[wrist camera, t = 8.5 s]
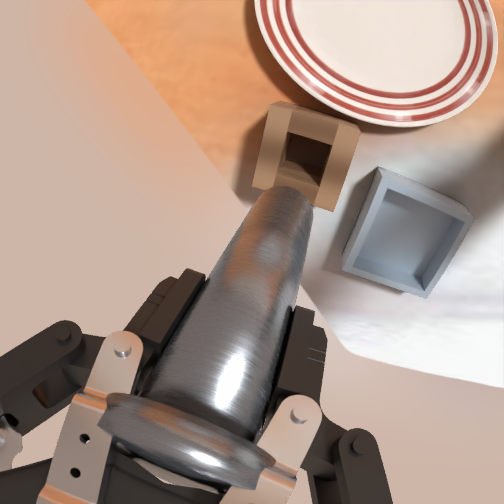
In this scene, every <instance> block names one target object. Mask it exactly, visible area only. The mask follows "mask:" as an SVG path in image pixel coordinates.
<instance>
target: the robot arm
mask: <svg viewBox="0 0 504 504" xmlns="http://www.w3.org/2000/svg"><path fill="white" fill-rule="evenodd" d="M205 278H206V277H205V274H202V273H199V272H197V271H194V270H191V269H188V268H187V269H186V270H185V271H184V272H183V273H182V275H181V276H180V277H179V279H176V278H174V277H171V276H170V277H168V278H167V279H165V280H163V281H162V282H160V283H159V284H158V285H157V287H156V288H155V289H154V290H153V292H152V294H150V295H149V297H148V298H147V300H146V301H145V302H144V303H143V305H142V306H141V307H140V309H139V310H138V311H137V313H136V314H135V316H134V317H133V318H132V319H131V321H130V322H129V323H128V325H127V326H126V328H125V329H124V330H123V331H117V332H114V333H112V334H110V335H109V336H107V337H99V336H93V335H88V334H82V331H81V329H80V327H79V326H78V325H77V324H76V323H74V322H72V321H67V320H64V321H59V322H56V323H55V324H53V325H51V326H50V327H48V328H46V329H45V330H43V331H41V332H40V333H38V334H36V335H35V336H33V337H31V338H30V339H28V340H27V341H25V342H23V343H22V344H20V345H18V346H17V347H15V348H14V349H12V350H11V351H9V352H7V353H6V354H4V355H3V356H1V357H0V504H285V503H286V502H287V500H288V498H289V496H290V494H291V493H292V491H293V489H294V486H295V484H296V480H297V479H296V474H297V472H298V469H299V468H302V469H304V470H306V471H307V475H308V481H309V486H310V492H311V497H312V503H313V504H393V501H392V498H391V493H390V490H389V485H388V481H387V478H386V474H385V470H384V466H383V463H382V459H381V455H380V452H379V448H378V445H377V442H376V440H375V438H374V436H373V435H372V434H371V433H370V432H368V431H366V430H364V429H360V428H354V429H350V430H349V431H347V430H345V429H343V428H342V427H340V426H338V425H336V424H335V423H333V422H332V421H330V420H329V419H328V418H327V417H326V416H325V415H324V413H323V412H322V410H321V407H320V401H319V400H320V392H321V386H322V379H323V372H324V362H325V357H326V354H325V353H326V349H327V337H326V335H325V332H324V329H323V328H321V327H317V326H314V325H313V321H314V314H315V311H313V310H310V309H306V308H303V307H300V306H297V305H296V306H295V308H294V311H293V314H292V318H291V322H290V326H289V330H288V335H287V339H286V343H285V347H284V351H283V355H282V358H281V362H280V366H279V370H278V374H277V378H276V381H275V385H274V389H273V392H272V396H271V401H270V405H269V409H268V412H267V416H266V421H265V424H264V427H263V429H262V433H261V436H260V439H259V440H258V442H257V444H256V445H257V446H259V447H260V448H262V449H263V450H265V451H266V452H268V453H269V454H270V455H272V456H273V457H274V458H275V459H276V463H275V465H274V466H269V467H266V468H265V469H264V470H263V471H262V472H261V474H260V477H259V480H258V483H257V486H256V489H255V490H252V489H248V488H244V487H240V486H237V485H233V484H232V485H231V486H230V487H229V488H228V489H227V491H226V492H225V494H224V495H223V496H222V495H219V494H216V493H213V492H210V491H207V490H204V489H201V488H193V487H185V486H179V485H172V484H167V483H164V482H162V481H161V480H159V479H158V478H157V477H155V476H154V475H153V474H151V473H150V472H149V471H147V470H146V469H145V468H144V467H142V466H141V465H140V464H139V463H137V462H136V461H134V460H132V459H130V458H128V457H126V456H124V455H122V454H120V453H118V452H117V451H115V448H116V445H117V443H118V441H117V440H116V438H115V437H114V435H113V434H111V433H109V432H107V431H106V430H104V429H102V428H100V427H99V426H97V424H98V422H99V420H100V419H101V417H102V415H103V414H104V412H105V410H106V407H107V402H106V400H105V399H106V397H107V395H108V394H110V393H126V394H131V395H136V396H137V395H138V393H139V392H140V390H141V388H142V387H143V385H144V383H145V381H146V380H147V378H148V376H149V374H150V373H151V371H152V369H153V368H154V366H155V364H156V363H157V361H158V359H159V357H160V356H161V354H162V352H163V351H164V349H165V347H166V346H167V344H168V342H169V341H170V339H171V337H172V336H173V334H174V332H175V331H176V329H177V327H178V326H179V324H180V322H181V321H182V319H183V317H184V316H185V314H186V312H187V311H188V309H189V307H190V306H191V304H192V302H193V301H194V299H195V298H196V296H197V294H198V293H199V291H200V289H201V288H202V286H203V284H204V283H205ZM70 403H71V404H70ZM69 404H70V407H69V409H68V412H67V415H66V418H65V421H64V424H63V427H62V430H61V433H60V436H59V439H58V442H57V446H56V449H55V452H54V456H53V458H50V459H47V460H43V461H40V462H36V463H33V464H29V465H25V466H21V467H18V468H14V469H12V461H13V458H14V457H15V455H17V454H18V453H20V452H21V451H22V448H23V446H22V436H24V435H25V434H27V433H28V432H30V431H31V430H33V429H34V428H35V427H37V426H38V425H40V424H41V423H43V422H44V421H46V420H47V419H49V418H50V417H51V416H53V415H54V414H56V413H57V412H59V411H60V410H62V409H63V408H64V407H66V406H67V405H69ZM88 440H90V441H89V442H88V443H86V442H87V441H88Z"/></svg>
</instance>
